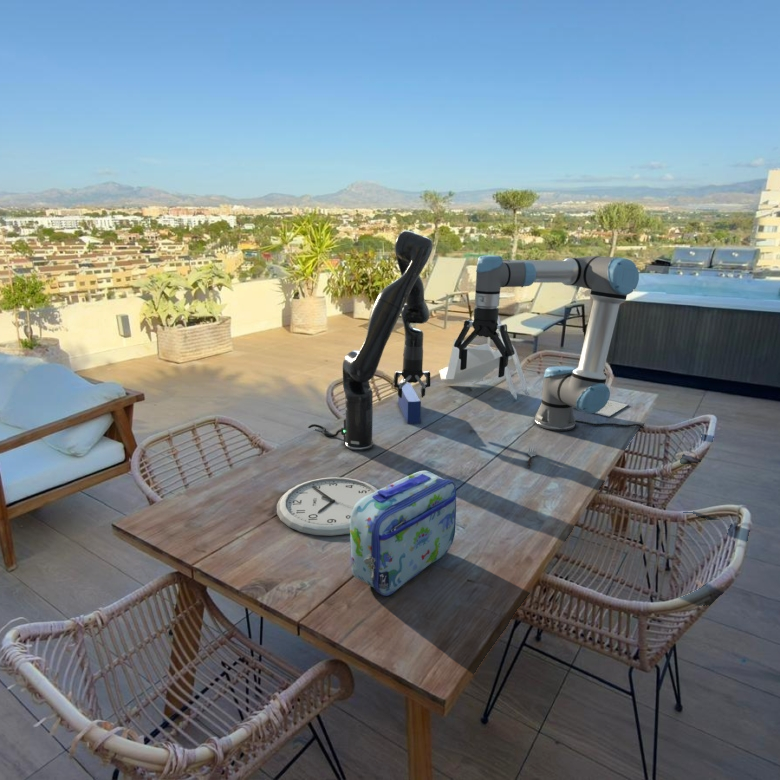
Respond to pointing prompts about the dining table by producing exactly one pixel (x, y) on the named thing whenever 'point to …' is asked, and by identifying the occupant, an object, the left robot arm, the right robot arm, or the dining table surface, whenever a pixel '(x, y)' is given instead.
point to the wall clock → (322, 505)
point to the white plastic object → (480, 366)
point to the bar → (410, 404)
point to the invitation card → (611, 408)
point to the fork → (531, 456)
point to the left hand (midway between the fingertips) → (411, 397)
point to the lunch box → (402, 530)
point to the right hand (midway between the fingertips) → (481, 372)
